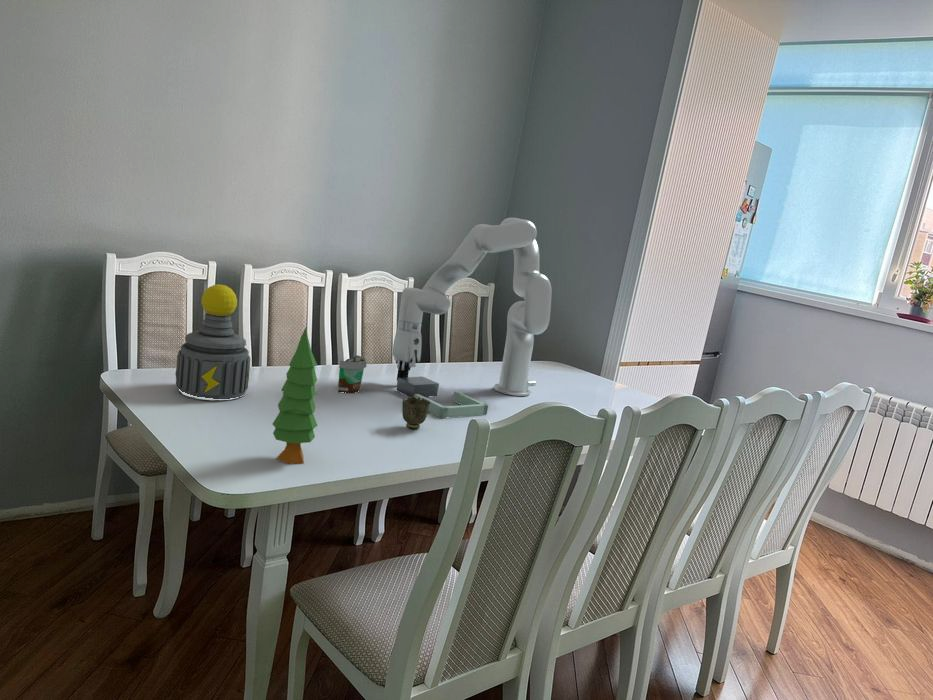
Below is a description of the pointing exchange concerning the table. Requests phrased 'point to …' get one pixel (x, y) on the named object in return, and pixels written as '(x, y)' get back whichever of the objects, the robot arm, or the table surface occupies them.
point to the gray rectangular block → (417, 386)
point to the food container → (351, 374)
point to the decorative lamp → (214, 351)
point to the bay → (466, 409)
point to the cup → (414, 411)
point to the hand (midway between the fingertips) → (401, 381)
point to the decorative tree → (297, 404)
